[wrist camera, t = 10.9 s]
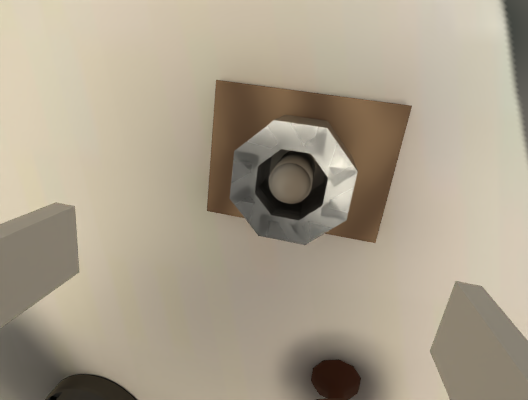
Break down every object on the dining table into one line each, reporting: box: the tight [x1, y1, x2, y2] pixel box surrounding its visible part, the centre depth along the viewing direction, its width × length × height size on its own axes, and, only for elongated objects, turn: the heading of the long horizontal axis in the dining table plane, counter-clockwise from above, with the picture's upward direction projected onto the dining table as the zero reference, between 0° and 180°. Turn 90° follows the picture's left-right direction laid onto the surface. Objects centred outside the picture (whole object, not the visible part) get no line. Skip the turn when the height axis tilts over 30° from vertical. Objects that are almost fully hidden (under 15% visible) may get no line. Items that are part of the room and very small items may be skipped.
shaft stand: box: [207, 80, 412, 243], centre depth 25 cm, size 16×12×9 cm
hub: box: [230, 115, 358, 245], centre depth 24 cm, size 8×8×6 cm
